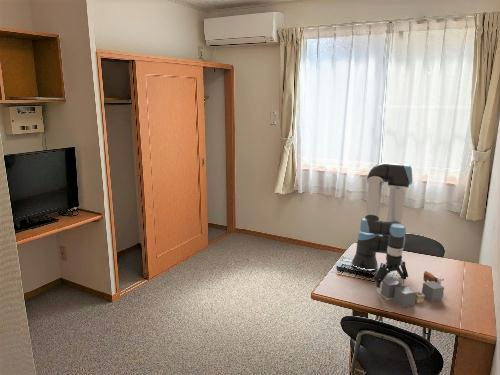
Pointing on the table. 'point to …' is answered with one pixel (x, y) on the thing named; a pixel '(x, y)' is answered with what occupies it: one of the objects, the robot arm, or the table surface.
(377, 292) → the mat
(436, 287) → the grey cube
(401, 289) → the grey block
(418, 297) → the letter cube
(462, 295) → the table surface
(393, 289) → the grey box
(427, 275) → the bull figurine
